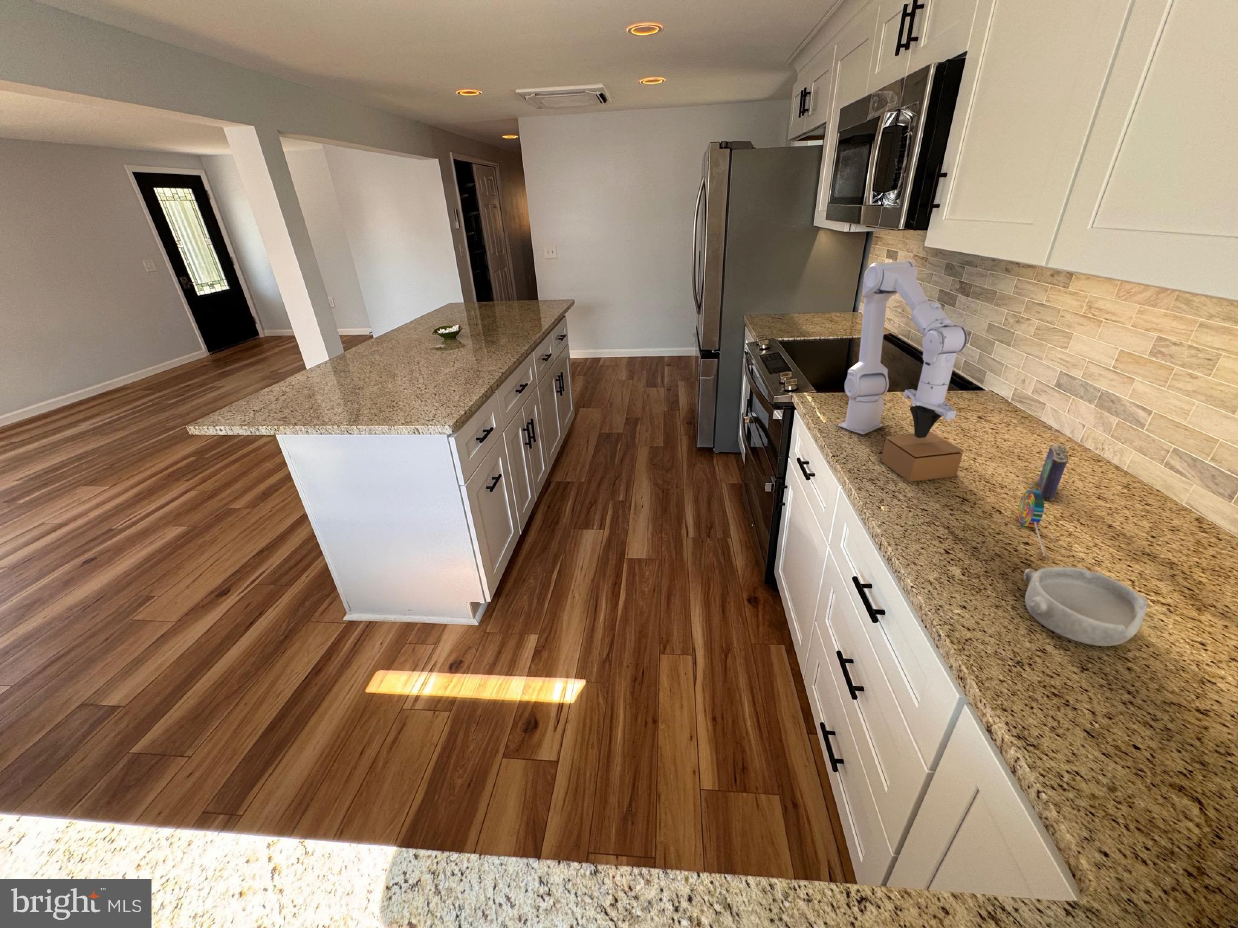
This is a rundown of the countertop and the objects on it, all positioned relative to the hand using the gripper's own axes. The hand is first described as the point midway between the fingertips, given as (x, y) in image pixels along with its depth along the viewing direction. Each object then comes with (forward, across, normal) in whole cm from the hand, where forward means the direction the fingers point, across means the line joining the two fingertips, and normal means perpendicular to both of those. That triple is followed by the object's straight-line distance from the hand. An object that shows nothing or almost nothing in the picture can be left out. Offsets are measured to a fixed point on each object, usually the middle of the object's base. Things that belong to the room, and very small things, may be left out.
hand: (920, 436), depth 120 cm
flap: (+1, -1, 0) cm, 2 cm away
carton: (+8, +2, 0) cm, 8 cm away
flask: (+8, +17, +19) cm, 27 cm away
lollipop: (+8, +30, +3) cm, 31 cm away
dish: (+8, +50, -8) cm, 51 cm away
